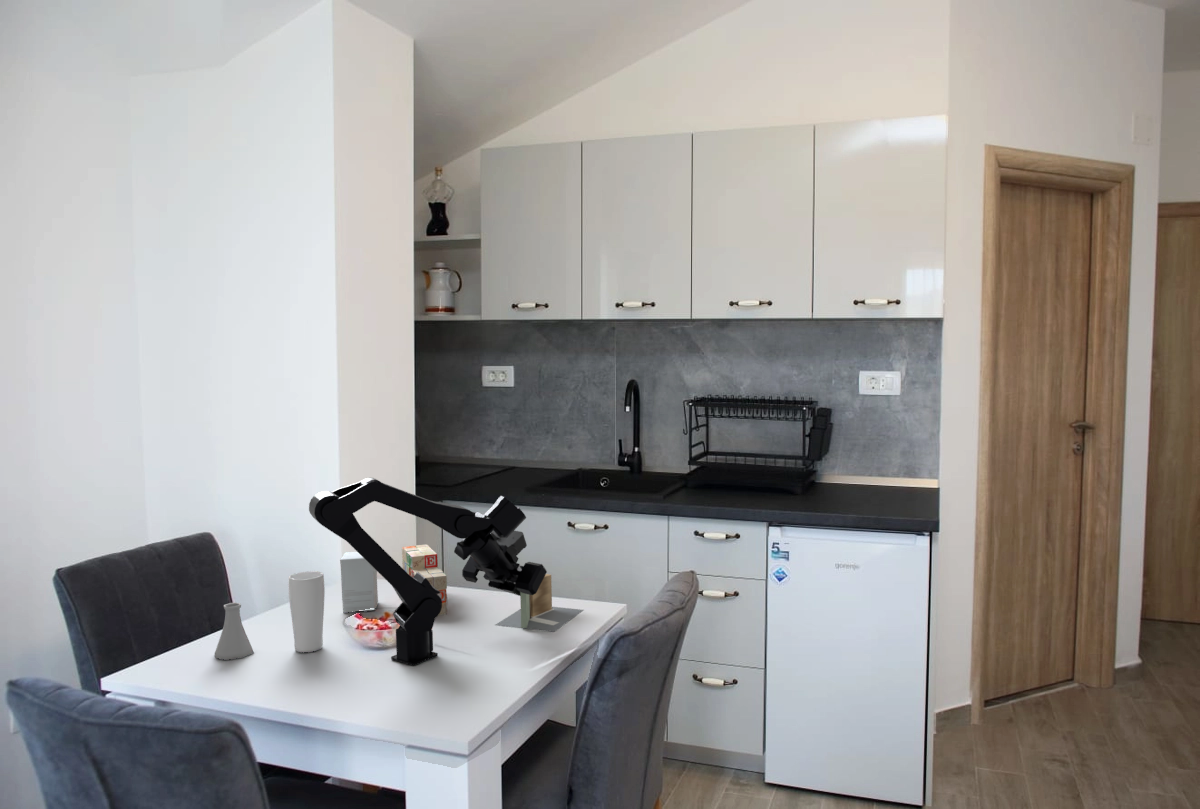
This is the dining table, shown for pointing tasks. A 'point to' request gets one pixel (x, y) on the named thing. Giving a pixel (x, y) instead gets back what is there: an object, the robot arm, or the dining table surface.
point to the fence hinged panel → (524, 609)
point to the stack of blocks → (426, 569)
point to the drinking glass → (307, 609)
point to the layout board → (542, 619)
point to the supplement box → (358, 583)
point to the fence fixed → (541, 598)
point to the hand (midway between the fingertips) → (520, 593)
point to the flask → (233, 635)
